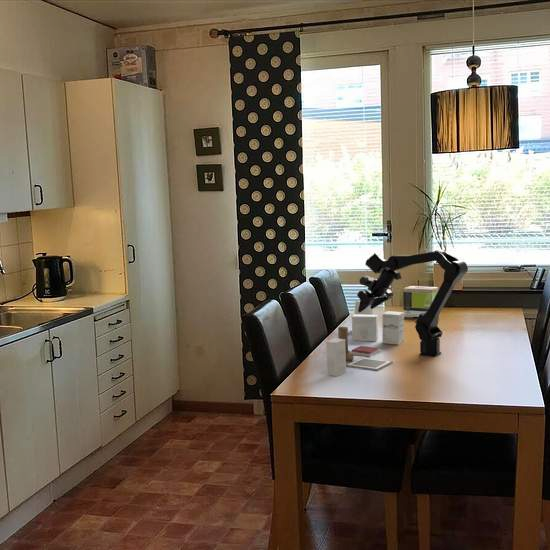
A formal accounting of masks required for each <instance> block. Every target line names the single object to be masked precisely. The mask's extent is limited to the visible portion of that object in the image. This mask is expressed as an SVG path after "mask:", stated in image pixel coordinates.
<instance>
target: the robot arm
mask: <svg viewBox="0 0 550 550" xmlns="http://www.w3.org/2000/svg"><path fill="white" fill-rule="evenodd" d="M431 262H436V263H437V264H438V265H439V267H440V268H441V269H442V270H444V273H443V281H442V283H441V285H440V287H438V292H437V294H436V296H435V298H434V300H433V302H432V303H431V305H430V307H429V309H428V311H427V312H424V313H421V314H420V315H419V317H418V318H417V320H416V321H415V322H414V324H415V327H414V328H415V331H416V333H417V334H418V338H419V340H420V343H419V348H420V349H419V355H420V356H427V357H428V356H429V357H437V356H439V355H441V354H442V351H440V350H441V347H440V346H441V345H440V344H441V343H440V341H441V339H440V338H441V337H442V335H443V331H442V329H440V327H438V324H439V320H440V319H439V317H440V316H439V315H440V314H441V312H442V310H443V308H444V306H445V304H446V303H447V301H448V299H449V297H450V296H451V294H452V291H454V289H455V286H456V285H457V284H458V283H459V282H460V281H461V280H462V279H463V278H464V277H465V275H466V274H467V272H468V270H469V268H468V267H469V266H468V265H467V263H466V262H465V261H464V260H460V259H458V258H457V257H455V256H453V255H451V254H450V253H448V252H447V251H446V250H445V249H438V250H434V251H429V252H425V253H418V254H397V255H391V256H389V257H388V259H385V258H383V257H382V256H381V255H380V253H378V252H374V253H373V254H372V255H371V256H370V257H368V258H367V259H366V261H365V263H364V264H365V266H366V267H367V268H369V269H370V270H371V272H373V273H374V274H376V275H377V274H379V276H378V277H377V278H375V277H372V276H370V275H363V276H361V277H360V279H359V280H358V281H359V284H360V285H361V286H365V287H367V289H362V290H359V291H358V292H357V294H356V296H357V297H358V299H359V302H360V305H359V309H358V312H359V313H360V312H362V311H363V310H365V309H366V308H367V307H369V306H370V305H371V307H370V308H371V309H373V310H374V309H375V308H377V307H378V306H380V305H382V304H384V303H385V302H387V301H389V300H390V299H392V298H393V295H394V294H393V291H392V290H391V288H392V286H391V285H392V284H393V283H394V281H399V280H402V275H401V272H398V270H403V269H406V268H408V267H410V266H413V265H418V264H425V263H431ZM368 290H369V291H368Z"/></svg>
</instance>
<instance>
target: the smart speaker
mask: <svg viewBox="0 0 550 550" xmlns="http://www.w3.org/2000/svg"><path fill="white" fill-rule="evenodd" d="M359 305H360V300H359V301H358V300H355V303H354V314H362V315H375V312H374V308H373V309H371V308H370V307H371V305H370V306H369V307H367V308H366V309H365V310H363V311H362V312H360V313H359V312H358V309H359Z"/></svg>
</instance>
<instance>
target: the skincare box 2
mask: <svg viewBox="0 0 550 550" xmlns="http://www.w3.org/2000/svg"><path fill="white" fill-rule="evenodd" d="M351 335H352V336H351V341H352V342H353V341H355V342H356V341H358V342H359V341H361V342H364V341H365V342H377V341H378V339H379V315H378V314H374V315H362V314H355V313H354V314H353V315H352V316H351Z"/></svg>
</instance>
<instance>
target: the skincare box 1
mask: <svg viewBox="0 0 550 550" xmlns="http://www.w3.org/2000/svg"><path fill="white" fill-rule="evenodd" d="M325 343H326V345H325V346H326V374H327V375H328V376H333V377H338V376H340V375H343V374H346V373H347V367H346V364H347V362H346V348H345V339H338V337H337V338H336V337H335V338H333V339H329V340H327V341H326V342H325Z"/></svg>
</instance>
